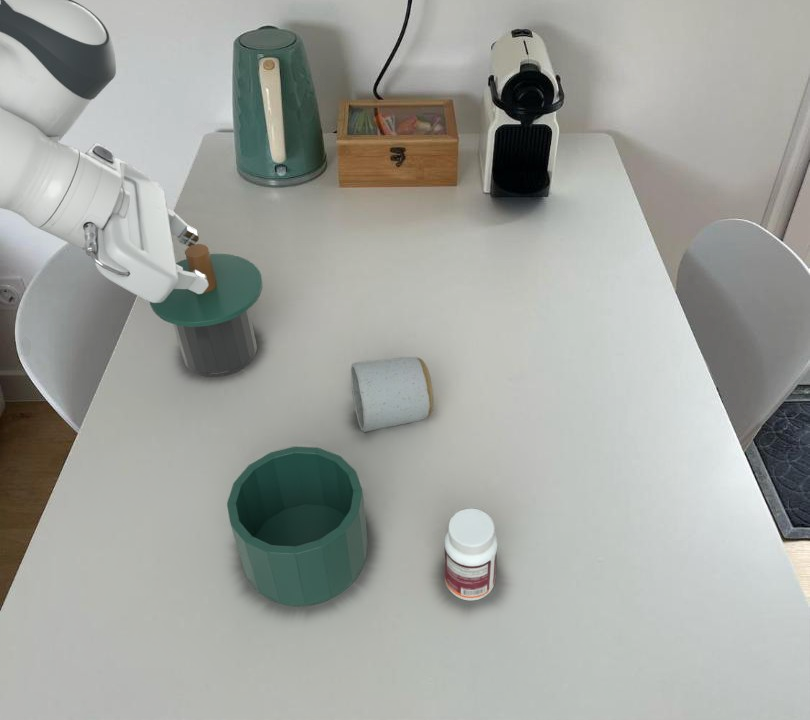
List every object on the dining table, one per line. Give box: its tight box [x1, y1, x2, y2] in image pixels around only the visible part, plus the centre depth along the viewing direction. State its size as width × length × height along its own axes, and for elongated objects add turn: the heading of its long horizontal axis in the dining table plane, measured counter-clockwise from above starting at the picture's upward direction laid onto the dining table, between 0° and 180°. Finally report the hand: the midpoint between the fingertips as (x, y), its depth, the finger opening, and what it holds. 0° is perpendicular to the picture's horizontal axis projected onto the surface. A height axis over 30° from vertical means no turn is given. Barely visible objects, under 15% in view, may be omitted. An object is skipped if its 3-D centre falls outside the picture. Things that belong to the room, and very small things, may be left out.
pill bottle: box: [443, 507, 499, 601], centre depth 73 cm, size 5×5×8 cm
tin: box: [226, 446, 369, 607], centre depth 76 cm, size 12×12×8 cm
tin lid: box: [149, 243, 264, 327], centre depth 93 cm, size 13×13×6 cm
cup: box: [172, 308, 258, 378], centre depth 98 cm, size 9×9×9 cm
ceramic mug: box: [350, 356, 434, 433], centre depth 90 cm, size 11×8×8 cm
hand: (200, 261), depth 91 cm, fingers open, 8 cm apart
